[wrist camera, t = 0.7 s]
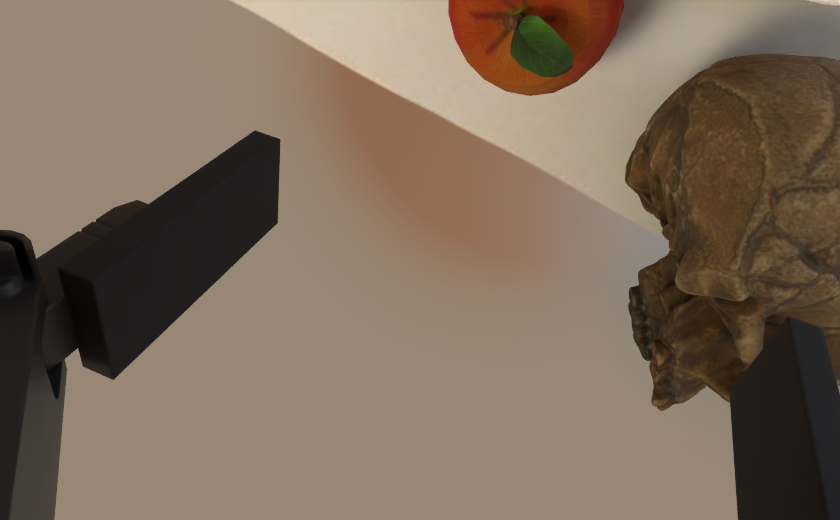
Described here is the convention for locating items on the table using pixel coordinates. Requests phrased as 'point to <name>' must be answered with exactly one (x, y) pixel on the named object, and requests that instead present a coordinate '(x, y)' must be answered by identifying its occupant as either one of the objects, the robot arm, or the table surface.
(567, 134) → the table surface
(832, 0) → the cup
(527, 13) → the fruit
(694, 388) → the skull
